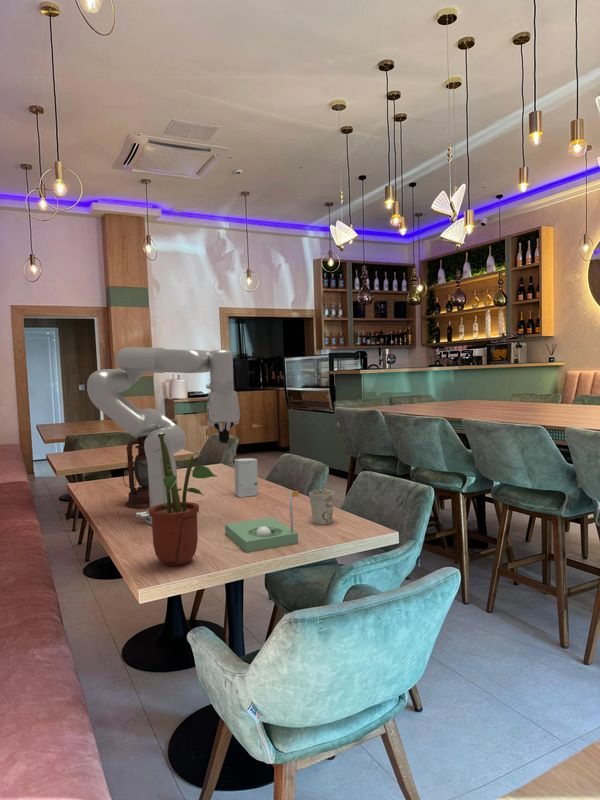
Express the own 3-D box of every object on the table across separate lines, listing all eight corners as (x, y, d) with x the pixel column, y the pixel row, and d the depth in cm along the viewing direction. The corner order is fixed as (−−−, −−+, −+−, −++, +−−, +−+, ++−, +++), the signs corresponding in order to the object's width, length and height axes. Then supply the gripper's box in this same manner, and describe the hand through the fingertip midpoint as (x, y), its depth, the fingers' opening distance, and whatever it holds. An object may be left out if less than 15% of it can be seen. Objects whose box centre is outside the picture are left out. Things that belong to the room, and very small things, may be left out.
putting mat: (246, 552, 155) (244, 499, 154) (225, 533, 173) (223, 486, 172) (302, 542, 162) (301, 492, 161) (276, 525, 180) (275, 480, 179)
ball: (257, 533, 160) (250, 530, 164) (263, 547, 161) (257, 543, 165) (270, 525, 162) (263, 521, 166) (276, 538, 163) (269, 534, 167)
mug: (317, 527, 177) (317, 496, 176) (299, 518, 188) (298, 489, 188) (340, 523, 181) (339, 493, 180) (321, 514, 192) (320, 486, 191)
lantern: (159, 494, 230) (156, 423, 228) (184, 501, 216) (181, 425, 214) (116, 503, 216) (112, 427, 215) (140, 511, 203) (136, 430, 201)
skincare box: (238, 497, 220) (237, 461, 219) (234, 494, 226) (233, 458, 225) (258, 495, 223) (257, 459, 222) (254, 492, 229) (253, 456, 228)
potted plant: (155, 574, 140) (149, 437, 138) (146, 556, 154) (140, 431, 152) (222, 563, 147) (217, 432, 145) (207, 546, 161) (203, 427, 159)
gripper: (202, 388, 175) (205, 446, 177) (247, 386, 182) (249, 442, 183) (196, 388, 182) (199, 443, 183) (240, 386, 188) (242, 439, 190)
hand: (224, 442), depth 183 cm, fingers closed
